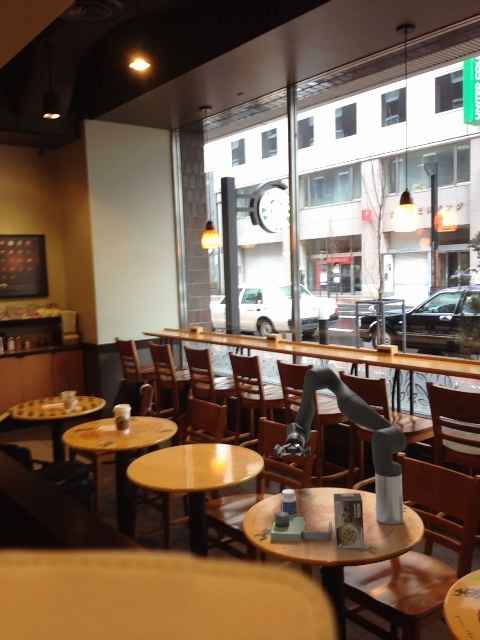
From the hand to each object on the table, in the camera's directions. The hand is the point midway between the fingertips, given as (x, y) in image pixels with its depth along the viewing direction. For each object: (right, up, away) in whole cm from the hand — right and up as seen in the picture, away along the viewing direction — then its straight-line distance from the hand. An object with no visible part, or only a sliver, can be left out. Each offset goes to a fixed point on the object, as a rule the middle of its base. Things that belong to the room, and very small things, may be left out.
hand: (290, 455), depth 224 cm
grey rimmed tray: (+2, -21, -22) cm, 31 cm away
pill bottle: (-1, -21, -9) cm, 23 cm away
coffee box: (+17, -22, -32) cm, 42 cm away
